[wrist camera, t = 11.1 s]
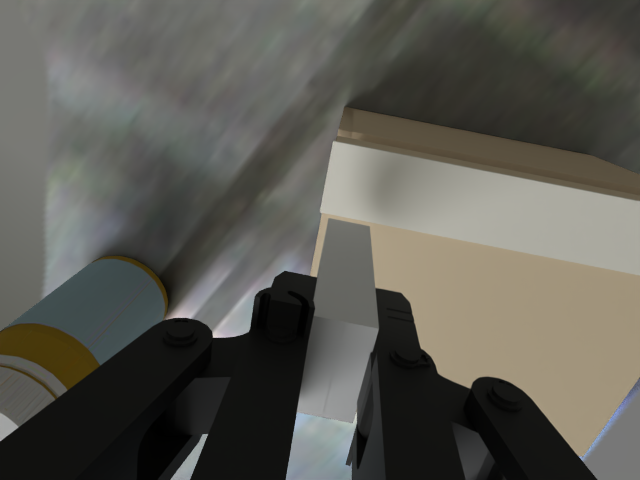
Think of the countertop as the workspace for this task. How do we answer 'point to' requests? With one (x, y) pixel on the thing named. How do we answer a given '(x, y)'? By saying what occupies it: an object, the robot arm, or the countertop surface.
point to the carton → (486, 150)
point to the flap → (503, 273)
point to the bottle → (74, 334)
